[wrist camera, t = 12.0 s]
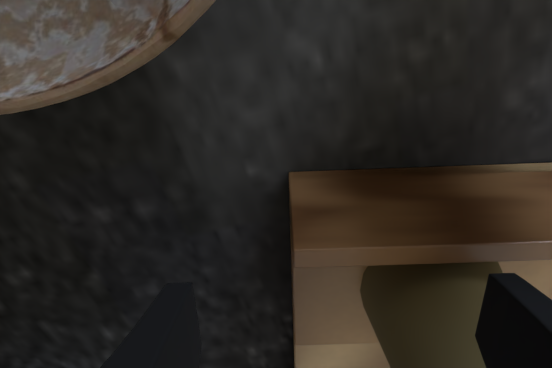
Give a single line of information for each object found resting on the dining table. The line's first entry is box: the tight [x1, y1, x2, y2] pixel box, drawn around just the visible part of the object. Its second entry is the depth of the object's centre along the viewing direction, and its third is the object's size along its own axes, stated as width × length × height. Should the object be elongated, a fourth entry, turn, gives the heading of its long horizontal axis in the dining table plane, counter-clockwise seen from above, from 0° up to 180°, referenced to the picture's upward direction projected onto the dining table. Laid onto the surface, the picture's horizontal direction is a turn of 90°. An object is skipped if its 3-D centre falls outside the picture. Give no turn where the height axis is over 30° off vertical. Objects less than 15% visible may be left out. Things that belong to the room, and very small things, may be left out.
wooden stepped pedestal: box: [289, 163, 552, 368], centre depth 22 cm, size 12×16×6 cm
